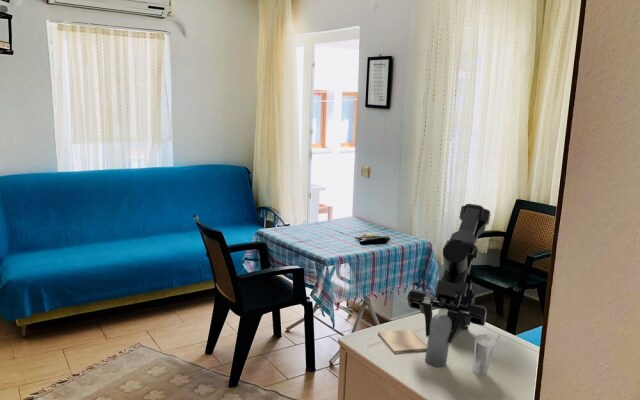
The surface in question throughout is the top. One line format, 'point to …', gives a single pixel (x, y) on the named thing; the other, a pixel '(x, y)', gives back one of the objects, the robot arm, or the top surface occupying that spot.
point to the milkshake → (483, 353)
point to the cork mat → (403, 341)
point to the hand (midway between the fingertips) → (438, 339)
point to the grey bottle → (438, 339)
